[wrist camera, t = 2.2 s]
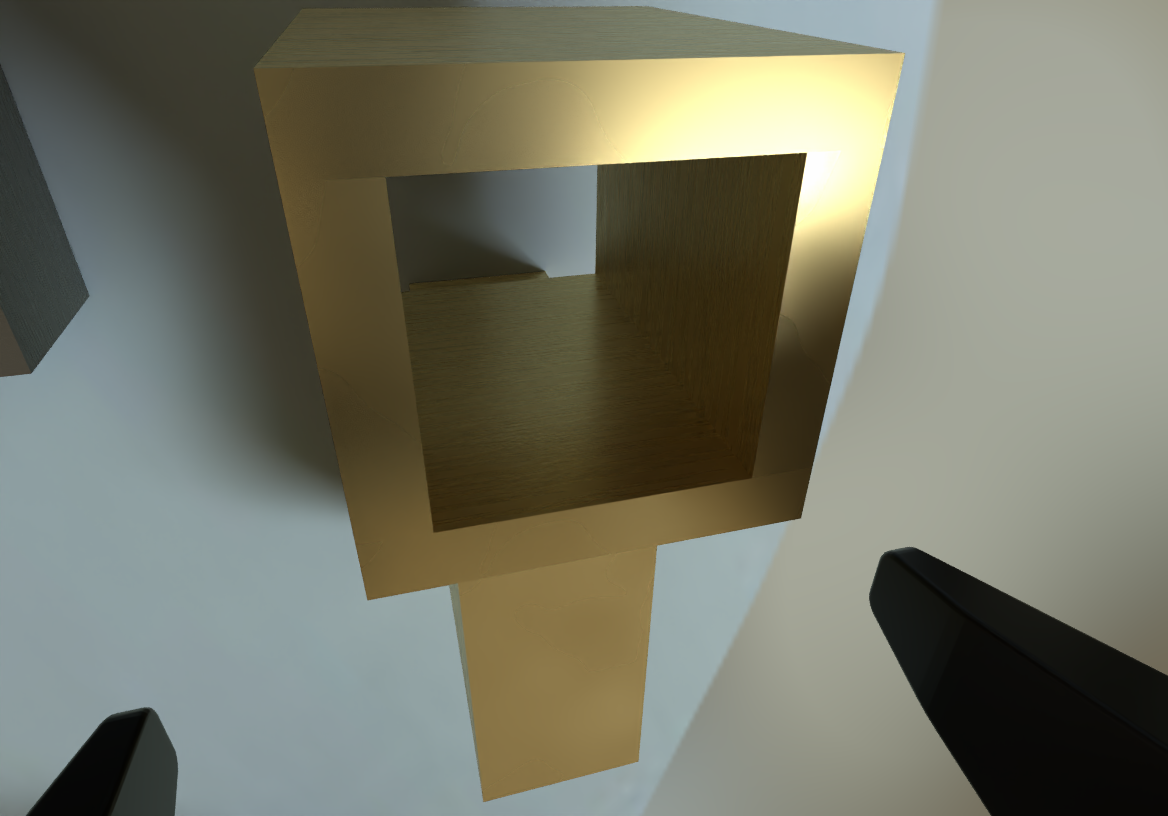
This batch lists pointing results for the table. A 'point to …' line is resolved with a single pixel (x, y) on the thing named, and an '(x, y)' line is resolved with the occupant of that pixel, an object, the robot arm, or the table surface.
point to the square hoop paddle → (572, 323)
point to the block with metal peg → (30, 253)
